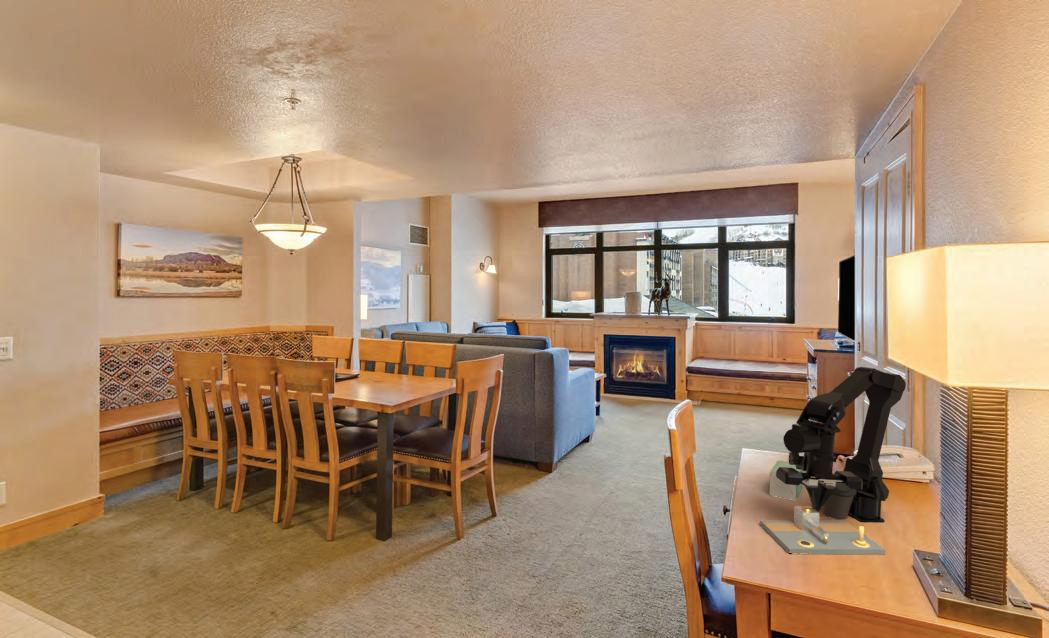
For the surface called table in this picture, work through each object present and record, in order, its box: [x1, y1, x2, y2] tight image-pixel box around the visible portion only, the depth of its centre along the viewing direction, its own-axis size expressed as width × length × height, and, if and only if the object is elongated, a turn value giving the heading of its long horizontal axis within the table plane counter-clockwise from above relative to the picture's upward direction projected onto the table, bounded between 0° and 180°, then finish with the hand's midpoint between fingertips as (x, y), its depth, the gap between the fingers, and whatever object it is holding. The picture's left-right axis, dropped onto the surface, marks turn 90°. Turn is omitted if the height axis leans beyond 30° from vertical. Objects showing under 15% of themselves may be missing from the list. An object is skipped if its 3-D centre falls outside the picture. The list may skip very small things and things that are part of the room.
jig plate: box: [759, 519, 886, 556], centre depth 128 cm, size 22×15×5 cm
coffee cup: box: [823, 483, 857, 521], centre depth 141 cm, size 8×8×10 cm
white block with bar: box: [793, 505, 829, 543], centre depth 128 cm, size 4×11×5 cm, turn 1°
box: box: [768, 460, 804, 501], centre depth 159 cm, size 7×14×8 cm, turn 145°
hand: (816, 511), depth 132 cm, fingers closed
